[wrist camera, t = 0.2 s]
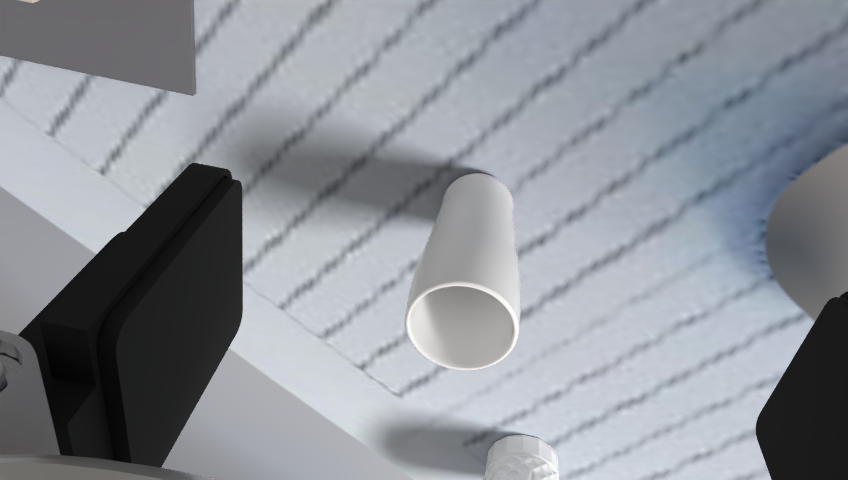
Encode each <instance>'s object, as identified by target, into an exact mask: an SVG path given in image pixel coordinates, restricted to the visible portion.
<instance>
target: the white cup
mask: <svg viewBox="0 0 848 480" xmlns="http://www.w3.org/2000/svg"><path fill="white" fill-rule="evenodd" d="M483 480H559V473H558V460H557V455H556V454H555V452H554V450H553V449H552V447H551V446H550V445H549V444H547V443H545V442H544V441H542V440H541V439H539V438H536V437H531V436H527V435H513V436H507V437H504V438H502V439H500V440H498V441H496V442H495V443H494V444H493V445H492V447H491V448H490V449H489V451H488V456H487V464H486V472H485V476H484V479H483Z"/></svg>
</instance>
